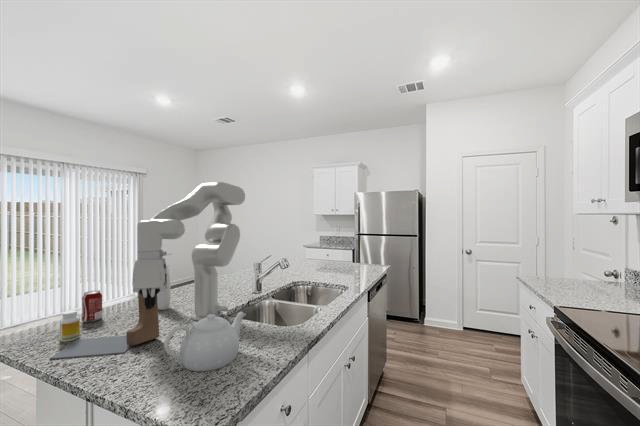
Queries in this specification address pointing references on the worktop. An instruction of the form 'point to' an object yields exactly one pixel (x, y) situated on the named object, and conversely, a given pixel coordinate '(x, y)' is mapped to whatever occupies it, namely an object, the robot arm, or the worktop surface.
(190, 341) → the teapot
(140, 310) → the wooden block
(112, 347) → the rubber mat
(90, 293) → the soda can
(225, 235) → the robot arm
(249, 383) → the worktop surface
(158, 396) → the worktop surface
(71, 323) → the supplement bottle
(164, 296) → the soap bottle
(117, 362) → the worktop surface
